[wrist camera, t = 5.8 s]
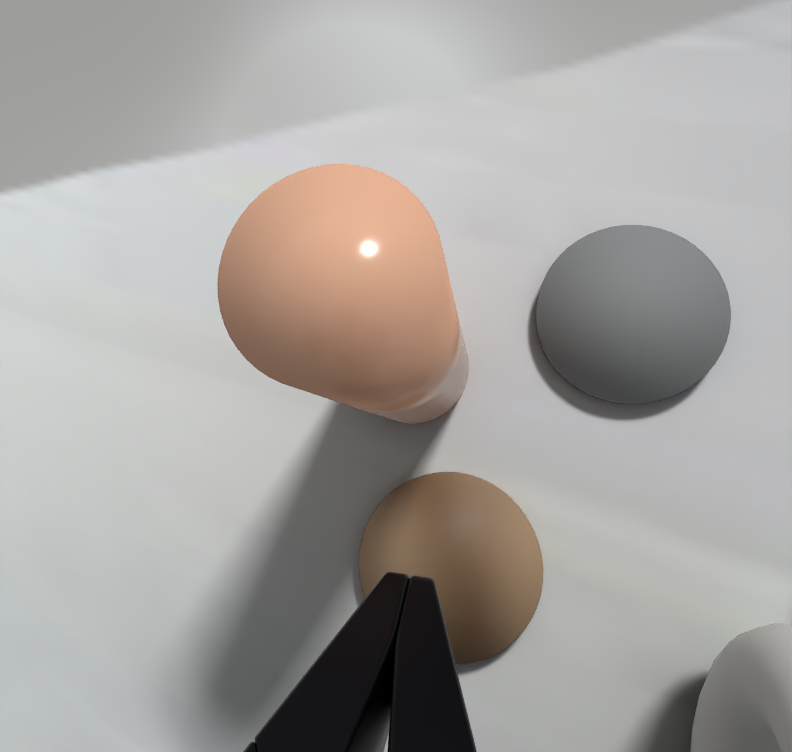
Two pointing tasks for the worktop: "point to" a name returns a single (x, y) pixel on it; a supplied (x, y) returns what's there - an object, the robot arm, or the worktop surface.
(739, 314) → the worktop surface
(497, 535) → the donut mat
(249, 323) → the post
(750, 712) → the donut
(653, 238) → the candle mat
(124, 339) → the worktop surface
